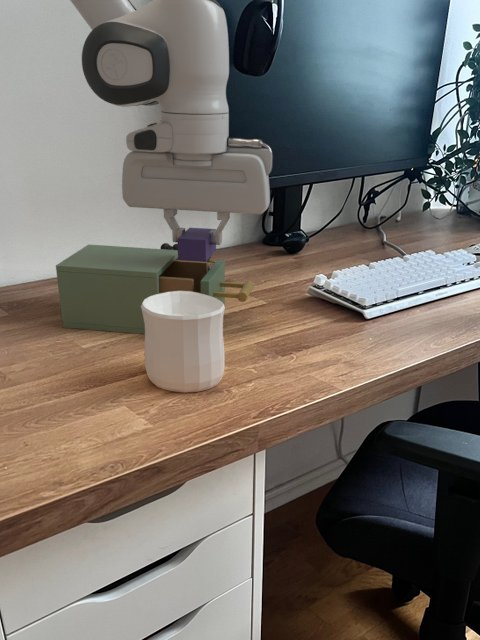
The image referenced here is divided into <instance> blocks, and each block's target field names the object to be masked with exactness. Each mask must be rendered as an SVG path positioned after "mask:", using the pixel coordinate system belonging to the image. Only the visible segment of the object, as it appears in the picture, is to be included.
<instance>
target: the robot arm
mask: <svg viewBox="0 0 480 640" xmlns="http://www.w3.org/2000/svg"><path fill="white" fill-rule="evenodd" d="M69 1H70V2H71V3H72V5H73V6H74V8H75V9H76V10H77V12H78V13H79V14H80V16H81V17H82V18H83V20H84V21H85V22H86V24H87V25H88V26H89V28H90V29H91V31H90V32H89V33H88V35H87V37H86V39H85V41H84V43H83V45H82V51H81V67H82V73H83V76H84V78H85V80H86V83H87V85H88V87H89V88H90V90H92V92H93V93H94V94H95V95H96V96H97V97H98V98H100V99H101V100H102V101H103V102H106V103H108V104H111V105H114V106H116V107H122V108H129V107H130V108H131V107H139V106H148V107H149V106H156V105H160V121H159V122H154V123H153V122H152V123H150V124H148V125H147V126H144V127H142V128H139V129H135V130H132V131H131V132H129V133H127V135H126V138H125V142H126V148H127V149H128V150H129V151H130V152H128V153H127V154H126V156H125V157H124V160H123V162H122V172H121V173H122V174H121V193H122V199H123V201H124V203H125V204H126V205H127V206H128V207H129V208H138V209H139V208H141V209H143V208H144V209H158V210H163V218H164V220H165V222H166V223H167V225H168V227H169V228H170V230H171V231H172V232H171V234H172V236H171V237H172V243H178V242H177V239H178V238H179V237H180V236H181V235H182V234H183V233H184V232H185V231H186V227H180V225H179V223H178V221H177V219H176V217H175V216H177V215H178V211H192V212H193V211H194V212H208V213H209V212H211V213H216V219H217V221H220V223H219V224H218V226H217V228H216V230H211V231H210V232H209V236H210V244H211V245H216V246H221V245H222V243H223V231H224V229H225V228H226V225H227V223H228V222H229V220H230V218H231V214H246V215H262V214H264V213H265V212H266V211H267V210H268V209H269V207H270V204H271V191H270V190H271V189H270V188H271V187H270V178H269V175H270V173H271V172H272V169H273V160H274V155H273V151H272V148H271V147H270V145H269V144H267V143H265V142H263V140H262V139H260V138H251V139H246V138H241V137H229V135H230V133H229V132H230V131H229V130H230V110H229V109H230V108H229V104H228V99H227V85H228V81H229V77H230V76H229V75H230V46H229V32H228V23H227V17H226V13H225V11H224V9H223V7H222V5H221V3H220V2H219V1H217V0H151V1H149V2H148V3H146V4H145V5H143V6H141V7H139V8H138V9H137V8H136V7H135V6H134V4H133V3H132V2H131V1H130V0H69Z"/></svg>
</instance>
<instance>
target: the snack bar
mask: <svg viewBox="0 0 480 640" xmlns="http://www.w3.org/2000/svg"><path fill="white" fill-rule="evenodd" d="M211 230H217V228H204V227H203V228H202V227H189V228H187V229H185V232H184V233H183V234H182V235H181V236H180V237H179V238H178V239H177V242H176V243H177V244H178V260H184V261H200V262H206V261H207V260H208V259H209V258H210V256H211V257H212V255H213V254H214V253H215V252H216V250H217V245H211V244H210V236H209V232H210V231H211ZM210 259H211V258H210Z"/></svg>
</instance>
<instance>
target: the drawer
mask: <svg viewBox="0 0 480 640" xmlns="http://www.w3.org/2000/svg"><path fill="white" fill-rule="evenodd" d="M208 266H209V262H200V261H184V260H175V261H174V262H173V263H172V264H171V265H170V266H169V267H168V268H167V269H166V270H165V271H164V272H163V273H162V274H161V275H160V276H159V294H161V293H166V292H172V291H191V292H196V293H201V294H204V295H208V296H211V297H214V298H216V299H218V300H220V301H222V303H223V304H224V307H225V308H226V306H225V305H226V298H227V299H237V300H238V301H239V302H240V303H244V302H247V299H248V298H249V296H250V294H251V292H252V291H253V289H254V287H255V285H254V282H253V281H252V280H246V281H245V282H244V283H243V282H232V281H231V282H230V281H226V275H225V274H226V261H225V260H224V259H223V260H222V259H217V260H215V263H213V265H212V266H211V267H210V270H209V271H208ZM226 288H234V289H240V291H239V292H226Z"/></svg>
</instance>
